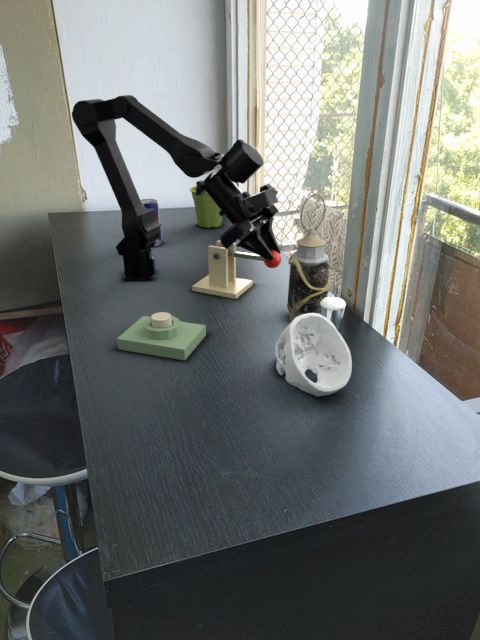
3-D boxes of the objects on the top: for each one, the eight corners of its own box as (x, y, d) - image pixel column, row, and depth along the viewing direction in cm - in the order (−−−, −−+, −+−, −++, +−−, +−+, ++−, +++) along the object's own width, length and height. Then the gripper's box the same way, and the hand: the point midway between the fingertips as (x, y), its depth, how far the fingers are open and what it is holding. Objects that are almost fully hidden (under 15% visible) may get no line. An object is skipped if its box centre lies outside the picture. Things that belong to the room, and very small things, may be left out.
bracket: (252, 285, 122) (252, 242, 117) (236, 299, 115) (235, 254, 110) (210, 277, 126) (209, 235, 120) (192, 290, 118) (189, 246, 113)
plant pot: (227, 231, 160) (226, 193, 154) (188, 230, 160) (186, 192, 154) (230, 220, 170) (229, 185, 165) (193, 219, 170) (192, 184, 165)
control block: (118, 349, 94) (115, 329, 92) (144, 325, 102) (142, 307, 100) (184, 360, 91) (183, 340, 89) (206, 335, 99) (205, 316, 97)
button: (148, 327, 94) (147, 318, 93) (157, 319, 97) (156, 310, 96) (166, 330, 93) (166, 321, 92) (175, 322, 96) (174, 313, 95)
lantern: (305, 307, 112) (313, 187, 99) (335, 319, 107) (347, 194, 94) (277, 319, 106) (282, 193, 94) (307, 332, 101) (316, 202, 89)
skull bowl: (305, 340, 95) (330, 302, 85) (338, 409, 89) (369, 376, 79) (253, 352, 91) (273, 312, 80) (284, 424, 85) (310, 392, 75)
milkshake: (344, 338, 99) (349, 289, 95) (338, 350, 95) (344, 300, 90) (321, 334, 101) (325, 285, 96) (314, 346, 96) (318, 296, 91)
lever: (283, 266, 114) (283, 249, 112) (277, 271, 111) (277, 254, 109) (220, 257, 119) (220, 241, 117) (212, 262, 116) (212, 245, 114)
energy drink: (157, 247, 145) (153, 203, 139) (139, 246, 146) (134, 202, 140) (164, 241, 149) (161, 199, 143) (146, 240, 150) (142, 198, 144)
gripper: (234, 181, 97) (286, 247, 99) (271, 165, 112) (316, 223, 114) (198, 217, 104) (248, 279, 105) (238, 198, 119) (281, 252, 121)
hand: (275, 256), depth 111 cm, fingers closed on lever, 4 cm apart
